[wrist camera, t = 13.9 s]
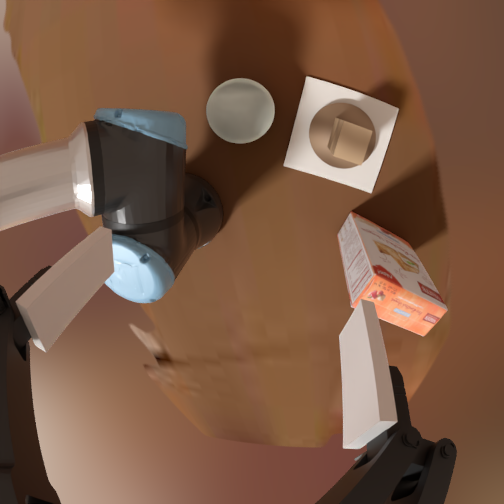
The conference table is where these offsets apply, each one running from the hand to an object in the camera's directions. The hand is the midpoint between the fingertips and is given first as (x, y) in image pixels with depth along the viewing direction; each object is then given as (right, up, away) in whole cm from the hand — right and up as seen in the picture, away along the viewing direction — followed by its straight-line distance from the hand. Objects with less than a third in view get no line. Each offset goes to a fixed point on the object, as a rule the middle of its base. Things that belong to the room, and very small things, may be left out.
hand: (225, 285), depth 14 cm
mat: (+16, +21, +28) cm, 38 cm away
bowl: (+1, +25, +28) cm, 38 cm away
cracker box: (+24, +4, +36) cm, 44 cm away
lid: (+16, +21, +27) cm, 38 cm away
